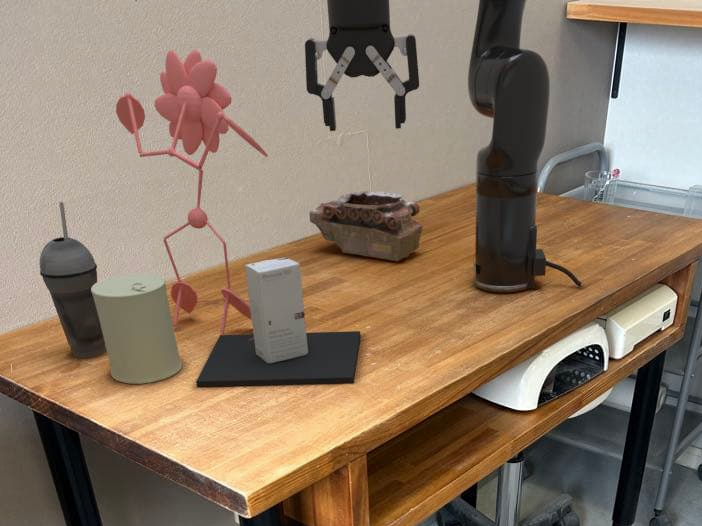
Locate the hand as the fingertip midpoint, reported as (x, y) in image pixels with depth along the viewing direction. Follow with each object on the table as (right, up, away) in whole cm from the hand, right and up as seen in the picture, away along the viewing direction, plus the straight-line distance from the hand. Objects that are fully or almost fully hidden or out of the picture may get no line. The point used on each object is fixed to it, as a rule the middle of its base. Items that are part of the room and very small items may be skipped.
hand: (365, 128), depth 112 cm
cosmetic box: (-11, -29, +3) cm, 31 cm away
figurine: (-21, -21, +17) cm, 34 cm away
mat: (-11, -30, +4) cm, 32 cm away
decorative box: (-3, -2, +43) cm, 43 cm away
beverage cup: (-39, -27, +9) cm, 49 cm away
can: (-29, -31, +3) cm, 43 cm away
